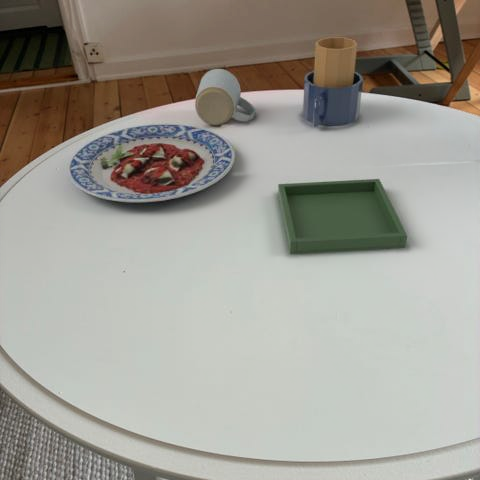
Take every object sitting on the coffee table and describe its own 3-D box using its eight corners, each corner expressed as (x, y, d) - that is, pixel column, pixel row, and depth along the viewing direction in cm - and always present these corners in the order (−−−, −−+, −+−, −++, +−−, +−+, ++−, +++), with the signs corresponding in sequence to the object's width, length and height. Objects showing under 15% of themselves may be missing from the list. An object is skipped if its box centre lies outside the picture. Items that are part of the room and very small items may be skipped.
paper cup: (344, 106, 101) (351, 36, 92) (352, 121, 96) (360, 48, 87) (309, 107, 100) (313, 38, 92) (315, 123, 95) (320, 50, 87)
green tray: (377, 190, 79) (379, 178, 78) (404, 248, 68) (407, 235, 67) (278, 195, 79) (278, 183, 77) (289, 254, 68) (290, 242, 67)
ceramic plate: (266, 157, 88) (266, 140, 85) (163, 233, 72) (161, 214, 70) (147, 124, 99) (144, 108, 97) (36, 184, 83) (30, 166, 81)
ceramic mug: (194, 127, 97) (191, 83, 91) (201, 109, 103) (198, 67, 97) (253, 129, 96) (253, 85, 91) (256, 111, 102) (257, 68, 97)
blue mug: (314, 103, 103) (316, 65, 99) (365, 111, 100) (370, 72, 95) (287, 130, 95) (288, 89, 90) (341, 139, 91) (345, 98, 87)
